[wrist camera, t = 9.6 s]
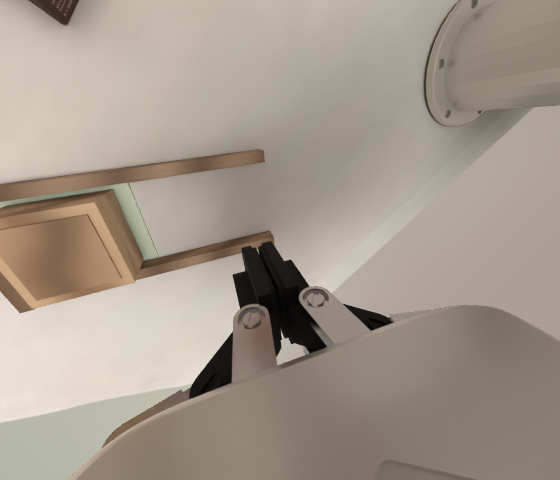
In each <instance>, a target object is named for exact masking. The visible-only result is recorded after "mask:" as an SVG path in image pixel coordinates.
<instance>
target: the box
mask: <svg viewBox="0 0 560 480" xmlns="http://www.w3.org/2000/svg"><path fill="white" fill-rule="evenodd" d="M29 1H31V2H32V3H33V4H35V5H36V6H38V7H39V8H40V9H42V10H43V11H45V12H46V13H47V14H49V15H50V16H52V17H53V18H54V19H56V20H57V21H58V22H60V23H61V24H63V25H65V24H66V23H67V22H68V20H69V18H70V16H71V14H72V12H73V10H74V7H75V5H76V3H77V1H78V0H29Z"/></svg>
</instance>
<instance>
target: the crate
mask: <svg viewBox="0 0 560 480" xmlns="http://www.w3.org/2000/svg"><path fill="white" fill-rule="evenodd" d="M142 262H143V256H142V254H141V252H140V250H139V248H138V246H137V243H136V241H135V239H134V237H133V235H132V232H131V230H130V228H129V226H128V224H127V221H126V219H125V217H124V215H123V213H122V211H121V208H120V206H119V204H118V202H117V200H116V197H115V195H114V193H113V191H112V189H110V190H104V191H97V192H91V193H84V194H78V195H72V196H65V197H59V198H52V199H46V200H40V201H33V202H27V203H20V204H14V205H7V206H5V207H2V208H0V272H1V273H2V274H3V275H4V276H5V278H6V279H7V280H8V281H9V282H10V283H11V285H12V286H13V287H14V288H15V289H16V290H17V292H18V293H19V294H20V295H21V296H22V297H23V299H24V300H25V301H26V302H27V303H28V304H29V306H30V307H31V308H32V309H35V308H38V307H42V306H46V305H50V304H54V303H58V302H61V301H65V300H69V299H73V298H77V297H81V296H84V295H88V294H92V293H96V292H100V291H104V290H107V289H111V288H115V287H119V286H123V285H127V284H130V283H134V282H136V279H137V276H138V273H139V270H140V267H141V265H142Z"/></svg>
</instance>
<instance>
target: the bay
mask: <svg viewBox="0 0 560 480" xmlns="http://www.w3.org/2000/svg"><path fill="white" fill-rule="evenodd" d="M261 162H265V160H264V151H263V150H260V149H258V150H251V151H243V152H236V153H229V154H221V155H214V156H206V157H199V158H192V159H184V160H177V161H169V162H162V163H155V164H147V165H140V166H132V167H125V168H117V169H110V170H103V171H95V172H88V173H80V174H73V175H66V176H58V177H51V178H43V179H36V180H29V181H21V182H14V183H6V184H0V208H2V207H5V206H7V205H14V204H20V203H27V202H33V201H40V200H46V199H52V198H59V197H65V196H72V195H78V194H84V193H91V192H97V191H104V190H110V189H112V191H113V193H114V195H115V197H116V200H117V202H118V204H119V206H120V208H121V211H122V213H123V215H124V217H125V219H126V221H127V224H128V226H129V228H130V230H131V232H132V235H133V237H134V239H135V241H136V243H137V246H138V248H139V250H140V252H141V254H142V256H143V260H147V259H151V258H155V257H158V254H157V251H156V249H155V247H154V244H153V242H152V239H151V237H150V235H149V232H148V230H147V227H146V225H145V223H144V220H143V218H142V215H141V213H140V211H139V208H138V206H137V203H136V201H135V199H134V196H133V194H132V191H131V189H130V187H129V184H128V183H129V182H135V181H142V180H148V179H155V178H162V177H168V176H175V175H181V174H188V173H195V172H201V171H208V170H214V169H221V168H228V167H234V166H241V165H247V164H254V163H261ZM268 241H272V243H273V244H274V237H273V235H272V234H271V233H270V232H265V233H261V234H256V235H252V236H248V237H244V238H240V239H236V240H231V241H227V242H223V243H219V244H215V245H211V246H207V247H202V248H198V249H194V250H190V251H186V252H182V253H177V254H173V255H169V256H165V257H161V258H157V259H152V260H148V261H144V262H142V265H141V267H140V270H139V273H138V276H137V279H136V280H138V279H142V278H146V277H150V276H154V275H158V274H161V273H165V272H169V271H173V270H177V269H181V268H185V267H189V266H192V265H196V264H200V263H204V262H208V261H212V260H216V259H219V258H223V257H227V256H231V255H235V254H239V253H242V251H241V248H243V247H247V246H251V247H252V248H254V247H256V249H258V246H261V243H264V242H268ZM0 291H1V293H2V294H3V295H4V296H5V297H6V298H7V299H8V300H9V301H10V303H11V304H12V305H13V306H14V307H15V308H16V309H17V310H18V311H19V313H23V312H26V311H30V310H34V309H32V308H31V307H30V306H29V304H28V303H27V302H26V301H25V300H24V299H23V297H22V296H21V295H20V294H19V293H18V292H17V290H16V289H15V288H14V287H13V286H12V285H11V283H10V282H9V281H8V280H7V279H6V278H5V276H4V275H3V274H2V273H1V272H0Z"/></svg>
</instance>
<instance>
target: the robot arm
mask: <svg viewBox="0 0 560 480" xmlns="http://www.w3.org/2000/svg"><path fill="white" fill-rule="evenodd" d="M426 96H427V102H428V106H429V109H430V111H431V114H432V115H433V116H434V118H435V119H436V120H437V121H438V122H439V123H441V124H443V125H446V126H461V125H465V124H467V123H470V122H472V121H473V120H475V119H476V118H478V117H479V116H480V115H481V114H482V113H483V112H484V111H485V110H496V109H511V108H526V107H540V106H555V105H560V0H461V1H460V2H459V3H458V4H457V5H456V6H455V7H454V9H453V10H452V11H451V12H450V14H449V15H448V17H447V18H446V20H445V22H444V23H443V25H442V27H441V29H440V31H439V33H438V35H437V38H436V40H435V42H434V45H433V48H432V51H431V54H430V58H429V63H428V68H427V75H426ZM258 250H259V254H258V252H257V249H256V247H254V248H252V247H251V246H247V247H243V248H241V251H242V256H243V261H244V266H245V272H241V273H237V274H233V279H234V283H235V288H236V292H237V297H238V301H239V306H240V310H239V311H237V313H236V314H235V316H234V320H233V332H232V333H231V335H230V336H229V337H228V338H227V340H226V341H225V342H224V344H223V345H222V346H221V347H220V349H219V350H218V351H217V352H216V354H215V355H214V356H213V358H212V359H211V360H210V361H209V363H208V364H207V365H206V367H205V368H204V369H203V370H202V372H201V373H200V374H199V375H198V377H197V378H196V379H195V381H194V383H193V384H192V386H191V388H189V389H188V390H186V391H184V392H183V391H182V390H180V391H178V392H176V393H175V394H173V395H171V396H170V397H168V398H166V399H165V400H163V401H161V402H159V403H158V404H156V405H155V406H153V407H151V408H149V409H148V410H146V411H144V412H143V413H141V414H139V415H137V416H136V417H134V418H132V419H131V420H129V421H127V422H126V423H124V424H122V425H121V426H120V427H119V428H117V429H116V430H114V432H113V433H112V434H111V435H110V436H109V437H108V439H107V440H106V441H105V443H104V445H103V447H102V449H101V450H99V451H98V452H97V453H95V454H94V455H93V456H92V457H91V458H90V459H89V460H87V461H86V462H85V463H84V464H83V465H82V466H81V467H80V468H79V469H78V470H77V471H76V472H75V473H74V474H72V476H71V477H70V478H69V479H68V480H560V340H558V339H556V338H554V337H553V336H551V335H549V334H548V333H546V332H544V331H542V330H541V329H539V328H537V327H535V326H533V325H532V324H530V323H528V322H526V321H524V320H522V319H520V318H518V317H517V316H514V315H512V314H510V313H508V312H506V311H503V310H501V309H497V308H494V307H488V306H479V305H458V306H448V307H444V308H439V309H434V310H425V311H417V312H408V313H399V314H391V315H389V317H388V318H387V317H386V316H383V315H381V314H378V313H374V312H370V311H367V310H363V309H360V308H356V307H353V306H349V305H345V304H342V303H341V302H340V301H339V300H338V299H337V298H336V297H335V296H334V295H332V294H331V293H330V292H329V291H328V290H327V289H325V288H322V287H318V286H311V287H310V286H309V285H308V283H307V282H306V281H305V279H304V278H303V276H302V275H301V273H300V272H299V270H298V269H297V267H296V266H295V264H294V263H293V262H292V260H287V261H283V259H282V257H281V256H280V254H279V252H278V251H277V249H276V248H275V246H274V244H273V243H272V241H268V242H264V243H261V246H258ZM280 328H281V329H280ZM281 331H282V333H283V336H284V338H289V340H290V342H291V344H293V343H296V344H299V345H302V349H303V351H304V353H305V356H302V357H299V358H297V359H294V360H291V361H289V362H286V363H283V364H281V365H278V366H277V361H276V357H277V355H278V353H279V351H280V349H281V340H282V337H281Z"/></svg>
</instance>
